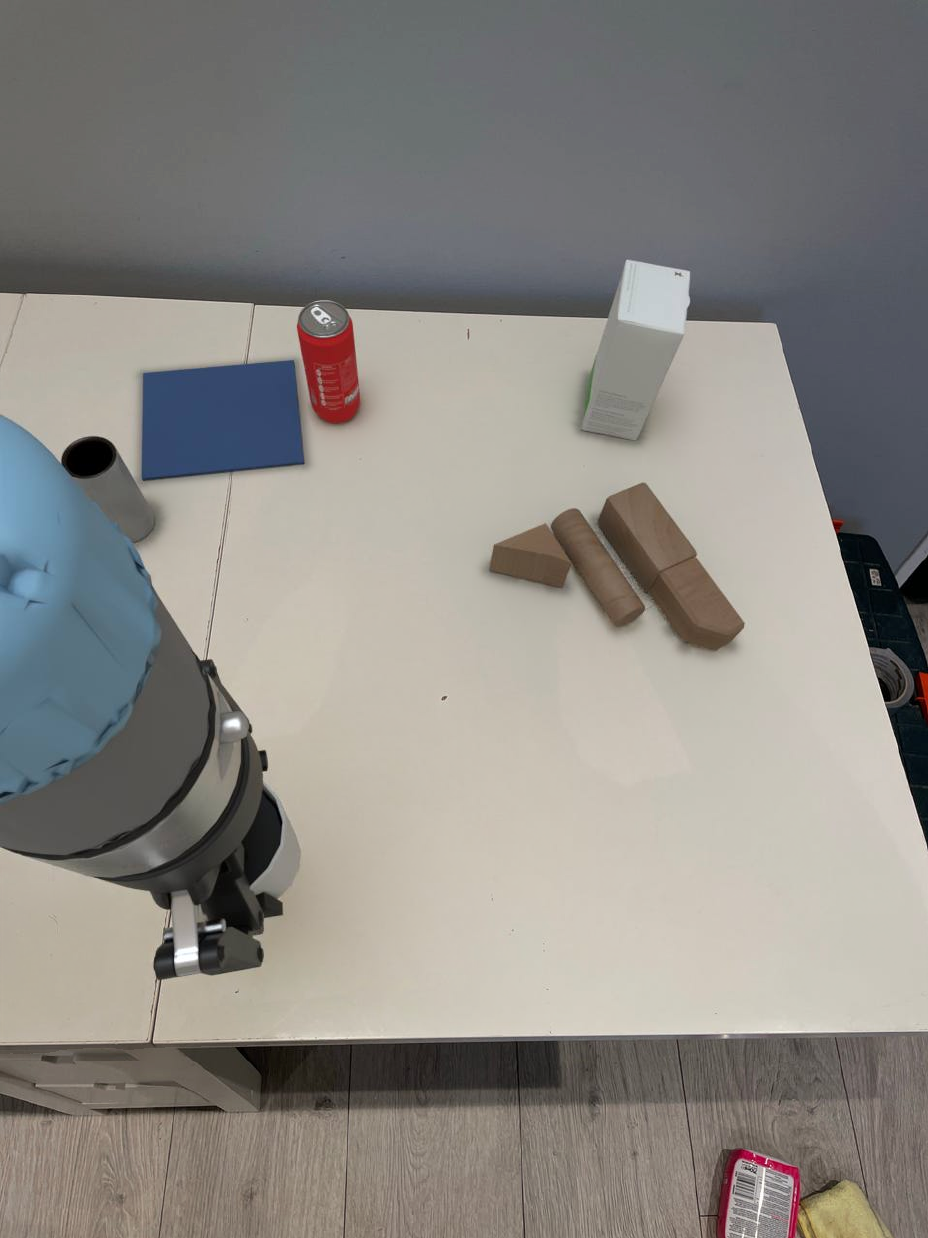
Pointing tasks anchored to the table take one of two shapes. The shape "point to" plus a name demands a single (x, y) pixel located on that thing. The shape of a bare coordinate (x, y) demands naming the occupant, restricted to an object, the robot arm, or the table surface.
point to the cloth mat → (220, 420)
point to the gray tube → (109, 484)
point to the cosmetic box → (636, 348)
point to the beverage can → (329, 360)
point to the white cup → (271, 848)
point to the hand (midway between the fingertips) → (257, 858)
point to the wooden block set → (648, 554)
